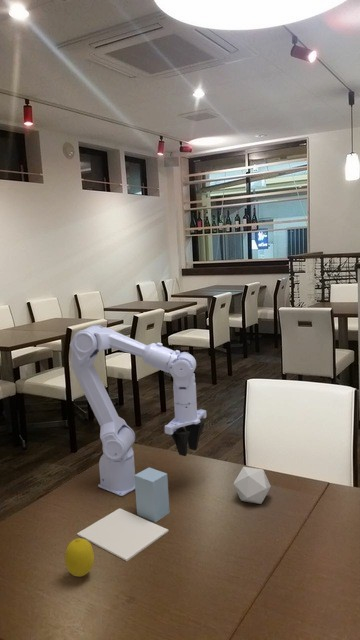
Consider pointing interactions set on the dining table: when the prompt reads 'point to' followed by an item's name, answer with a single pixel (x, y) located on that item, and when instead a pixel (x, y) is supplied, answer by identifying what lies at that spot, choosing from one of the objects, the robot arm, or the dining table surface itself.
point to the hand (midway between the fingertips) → (187, 452)
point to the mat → (123, 533)
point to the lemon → (79, 557)
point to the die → (252, 485)
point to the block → (152, 494)
